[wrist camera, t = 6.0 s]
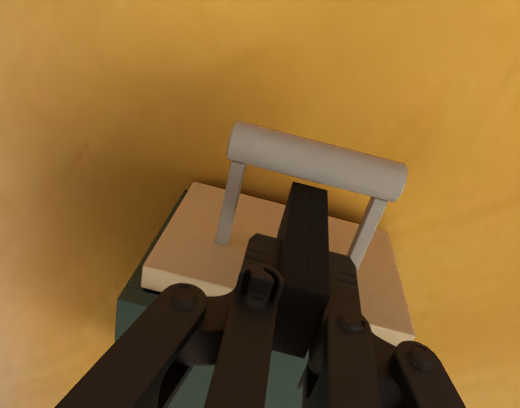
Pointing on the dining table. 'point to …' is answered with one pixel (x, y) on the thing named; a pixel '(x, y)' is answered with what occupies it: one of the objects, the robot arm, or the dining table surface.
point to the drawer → (269, 218)
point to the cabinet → (198, 381)
